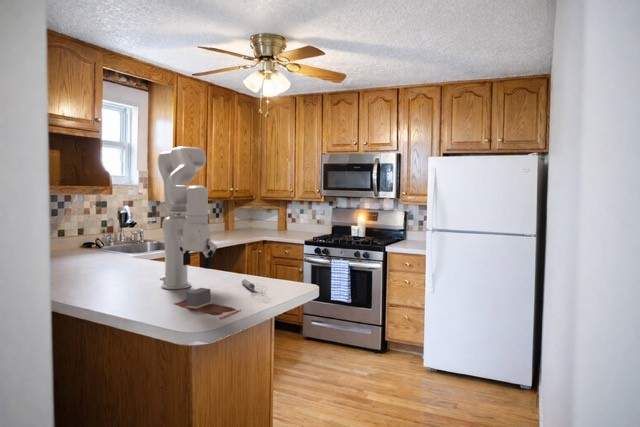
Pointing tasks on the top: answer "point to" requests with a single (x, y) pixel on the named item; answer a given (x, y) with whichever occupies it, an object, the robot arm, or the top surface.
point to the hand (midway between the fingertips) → (197, 266)
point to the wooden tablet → (208, 308)
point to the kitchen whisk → (251, 286)
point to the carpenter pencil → (230, 314)
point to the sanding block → (198, 298)
